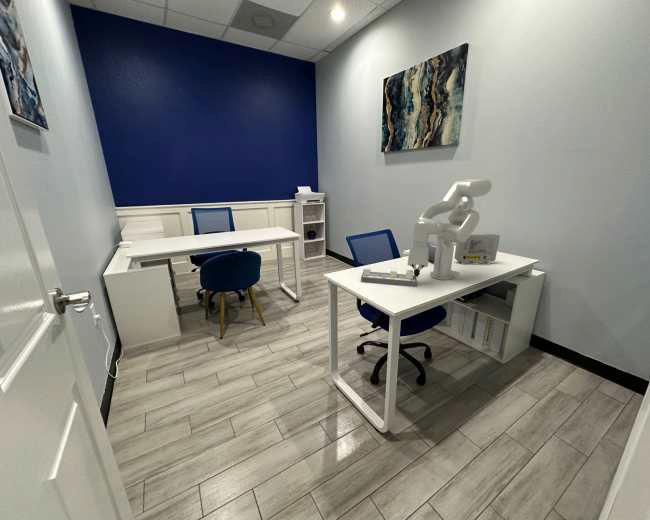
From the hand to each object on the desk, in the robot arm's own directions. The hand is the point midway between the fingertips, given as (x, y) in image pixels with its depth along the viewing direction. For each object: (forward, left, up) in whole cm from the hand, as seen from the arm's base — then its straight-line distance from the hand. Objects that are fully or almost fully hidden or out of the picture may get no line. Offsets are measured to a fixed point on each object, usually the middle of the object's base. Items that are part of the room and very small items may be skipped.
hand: (416, 276), depth 154 cm
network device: (-40, -47, -5) cm, 62 cm away
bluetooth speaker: (-13, -46, -5) cm, 48 cm away
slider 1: (+27, 0, -1) cm, 27 cm away
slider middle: (+12, 0, -1) cm, 12 cm away
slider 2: (+4, 0, -1) cm, 4 cm away
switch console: (+15, 0, -4) cm, 15 cm away
